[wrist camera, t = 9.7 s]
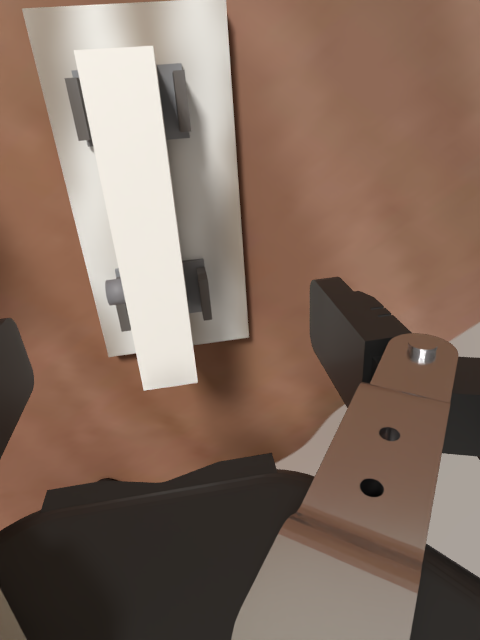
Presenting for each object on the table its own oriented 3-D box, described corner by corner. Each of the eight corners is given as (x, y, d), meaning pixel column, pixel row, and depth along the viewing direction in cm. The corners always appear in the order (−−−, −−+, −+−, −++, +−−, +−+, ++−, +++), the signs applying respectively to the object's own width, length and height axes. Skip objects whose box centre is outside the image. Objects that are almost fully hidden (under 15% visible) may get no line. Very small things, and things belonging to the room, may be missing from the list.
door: (156, 65, 24) (152, 45, 17) (189, 313, 32) (197, 382, 24) (81, 69, 24) (40, 51, 16) (132, 320, 31) (121, 393, 23)
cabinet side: (222, 3, 25) (233, -15, 21) (245, 328, 35) (255, 356, 31) (29, 13, 24) (4, -4, 20) (110, 347, 34) (104, 378, 30)
